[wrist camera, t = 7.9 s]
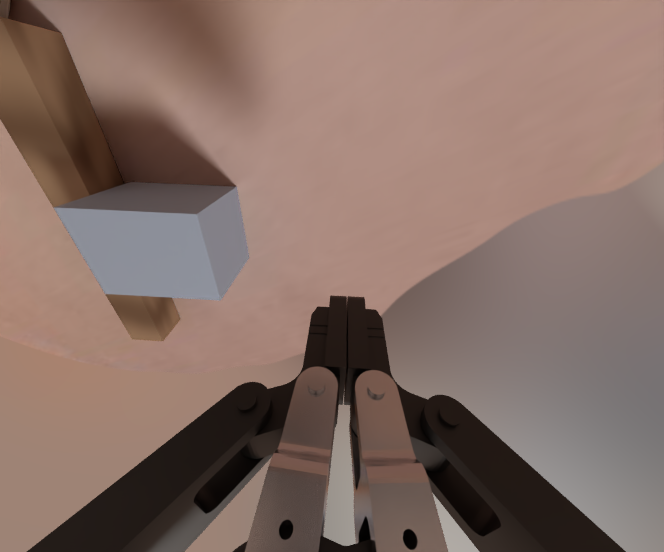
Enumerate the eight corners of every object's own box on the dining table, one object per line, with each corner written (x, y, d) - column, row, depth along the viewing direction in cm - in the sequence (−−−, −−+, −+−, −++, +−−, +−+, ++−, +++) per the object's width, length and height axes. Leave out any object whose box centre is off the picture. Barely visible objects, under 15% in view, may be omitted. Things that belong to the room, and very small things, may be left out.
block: (131, 181, 19) (53, 207, 14) (237, 186, 19) (196, 214, 14) (159, 252, 22) (105, 293, 17) (249, 256, 22) (220, 300, 17)
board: (9, 31, 14) (-62, 14, 12) (61, 33, 14) (0, 16, 12) (152, 317, 26) (132, 339, 24) (180, 319, 26) (163, 341, 24)
